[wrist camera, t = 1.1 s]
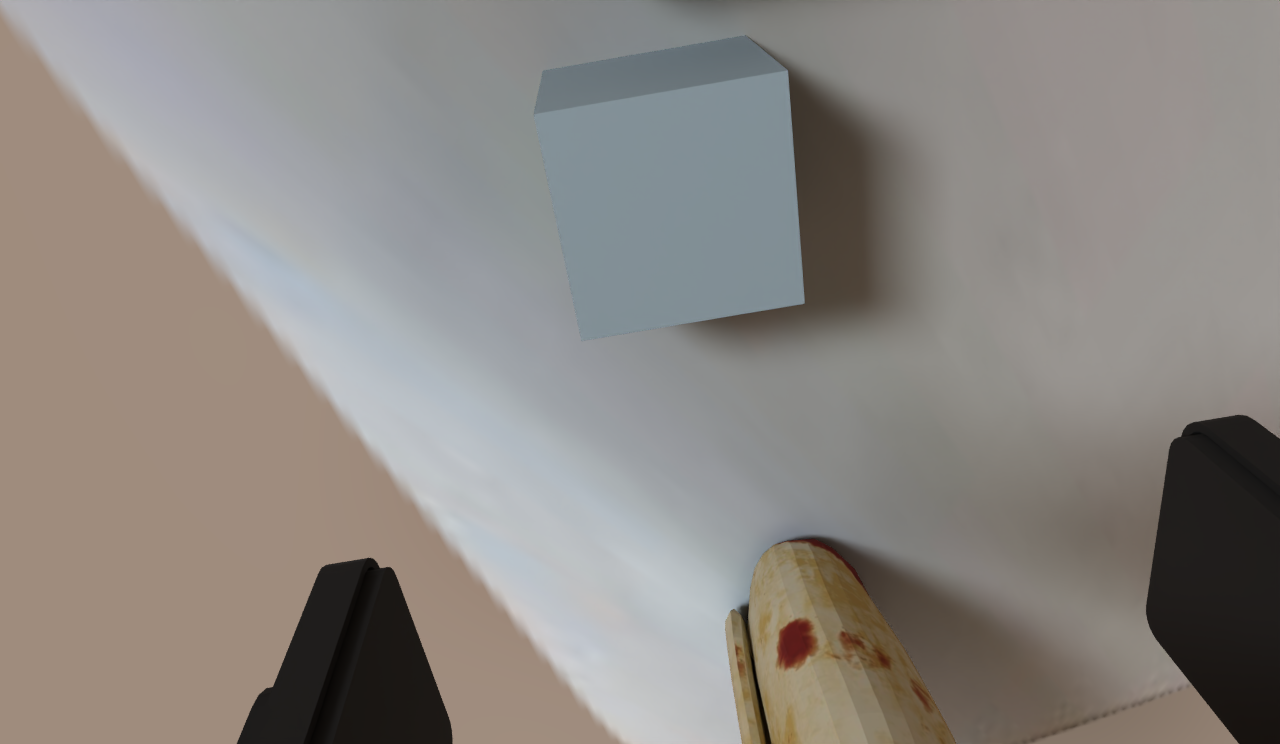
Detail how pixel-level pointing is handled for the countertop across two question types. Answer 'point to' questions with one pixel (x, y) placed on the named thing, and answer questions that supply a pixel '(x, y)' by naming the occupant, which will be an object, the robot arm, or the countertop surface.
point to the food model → (823, 659)
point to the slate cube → (673, 185)
